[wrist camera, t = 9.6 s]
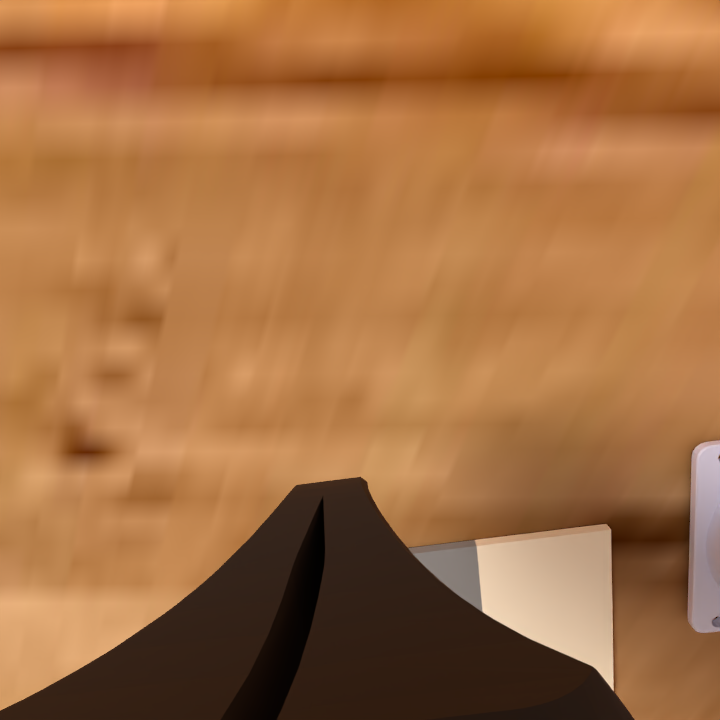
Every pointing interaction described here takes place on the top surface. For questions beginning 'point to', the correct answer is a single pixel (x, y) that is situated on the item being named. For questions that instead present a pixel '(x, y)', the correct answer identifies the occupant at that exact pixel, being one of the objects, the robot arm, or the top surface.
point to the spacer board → (538, 586)
